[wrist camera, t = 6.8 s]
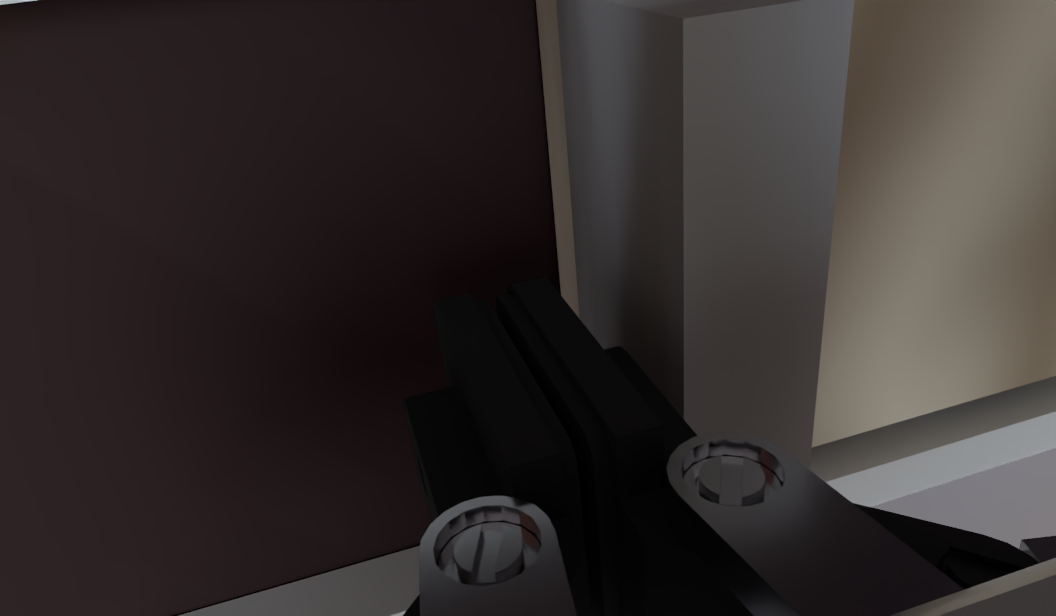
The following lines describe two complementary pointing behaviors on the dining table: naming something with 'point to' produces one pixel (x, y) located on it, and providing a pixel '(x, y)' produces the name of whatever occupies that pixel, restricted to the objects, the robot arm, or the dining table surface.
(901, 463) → the lane rails
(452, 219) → the dining table surface
